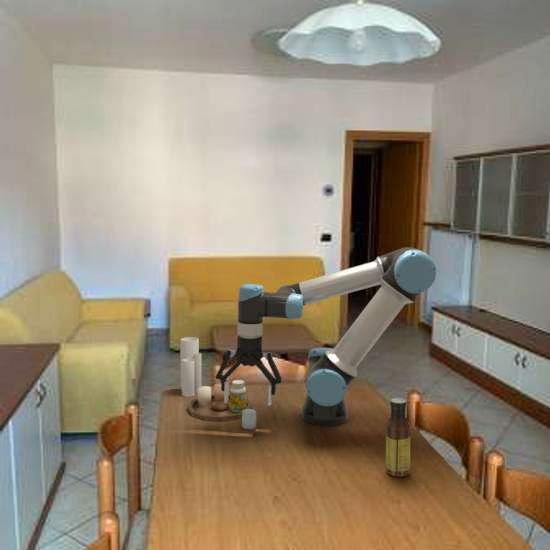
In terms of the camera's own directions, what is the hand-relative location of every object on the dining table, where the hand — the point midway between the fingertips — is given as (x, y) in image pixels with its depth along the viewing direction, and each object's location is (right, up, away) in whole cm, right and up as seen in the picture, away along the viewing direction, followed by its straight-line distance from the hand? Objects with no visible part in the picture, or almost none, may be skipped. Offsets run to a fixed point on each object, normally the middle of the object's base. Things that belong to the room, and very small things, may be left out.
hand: (247, 402), depth 171 cm
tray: (-10, -7, +15) cm, 19 cm away
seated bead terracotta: (-10, -5, +21) cm, 24 cm away
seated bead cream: (-16, -5, +18) cm, 24 cm away
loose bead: (0, -9, +1) cm, 9 cm away
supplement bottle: (-4, -6, +14) cm, 16 cm away
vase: (-22, -4, +32) cm, 39 cm away
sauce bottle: (+41, -13, -24) cm, 49 cm away
